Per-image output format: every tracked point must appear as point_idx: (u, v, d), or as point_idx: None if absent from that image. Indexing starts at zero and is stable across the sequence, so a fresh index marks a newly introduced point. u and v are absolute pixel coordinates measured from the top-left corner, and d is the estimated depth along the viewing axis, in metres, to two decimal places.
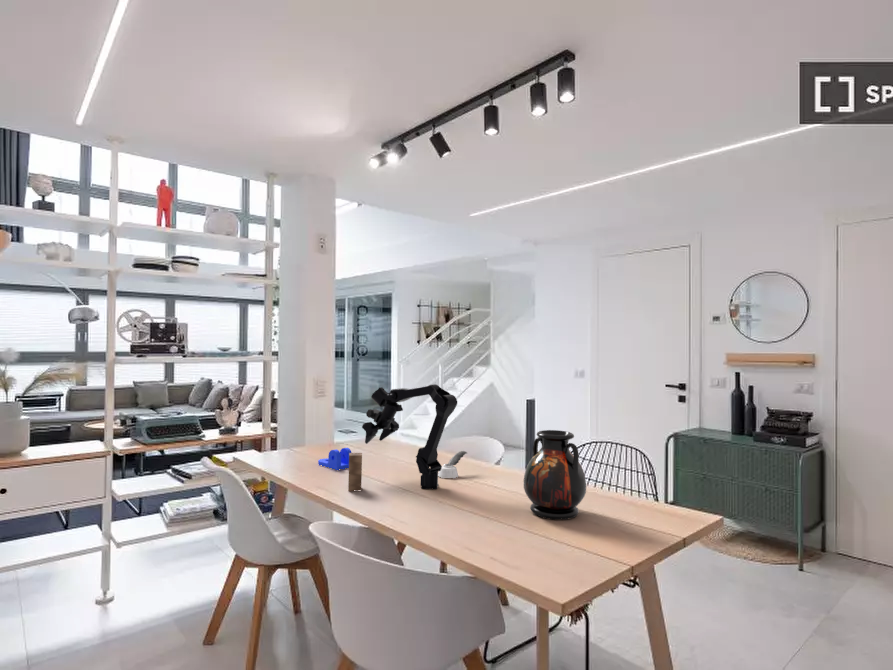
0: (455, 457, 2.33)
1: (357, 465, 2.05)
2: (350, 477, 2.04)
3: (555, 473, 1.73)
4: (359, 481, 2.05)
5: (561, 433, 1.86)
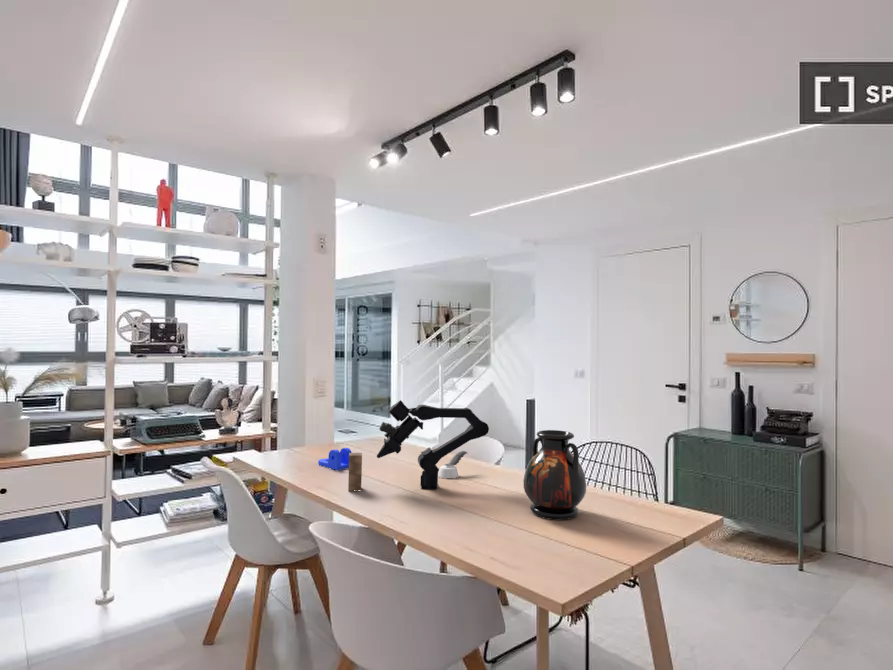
0: (455, 457, 2.33)
1: (357, 465, 2.05)
2: (350, 477, 2.04)
3: (555, 473, 1.73)
4: (359, 481, 2.05)
5: (561, 433, 1.86)
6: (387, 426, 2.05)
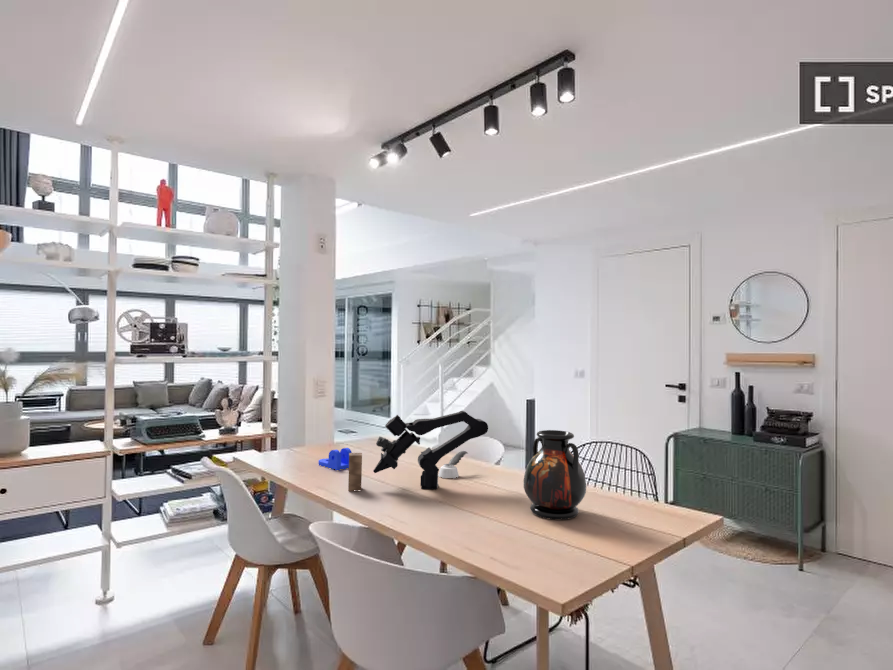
0: (456, 457, 2.33)
1: (357, 465, 2.05)
2: (350, 477, 2.04)
3: (555, 473, 1.73)
4: (359, 481, 2.05)
5: (561, 433, 1.86)
6: (384, 441, 2.05)
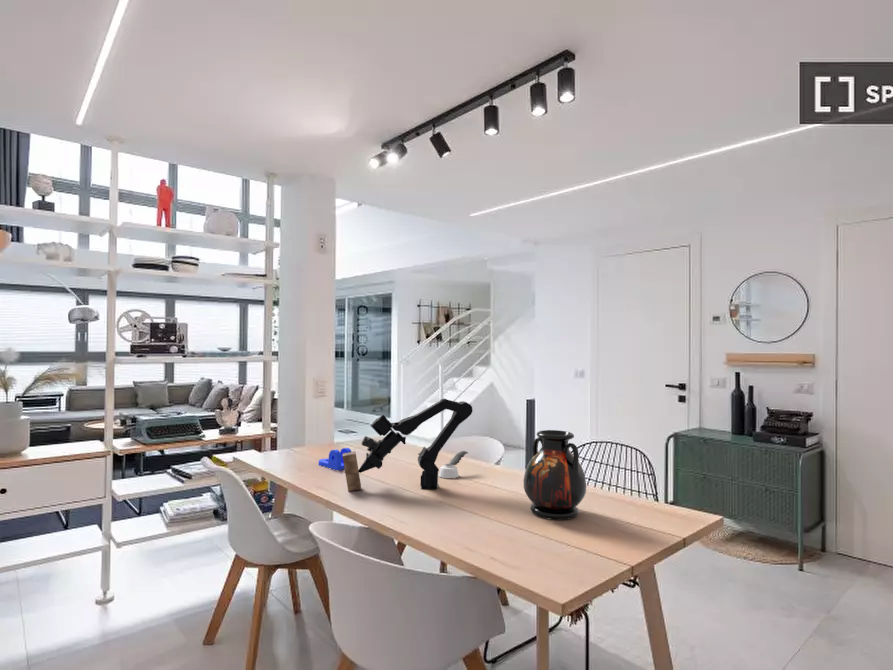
0: (456, 457, 2.33)
1: (352, 464, 2.04)
2: (347, 477, 2.04)
3: (555, 473, 1.73)
4: (357, 479, 2.05)
5: (561, 433, 1.86)
6: (369, 441, 2.04)
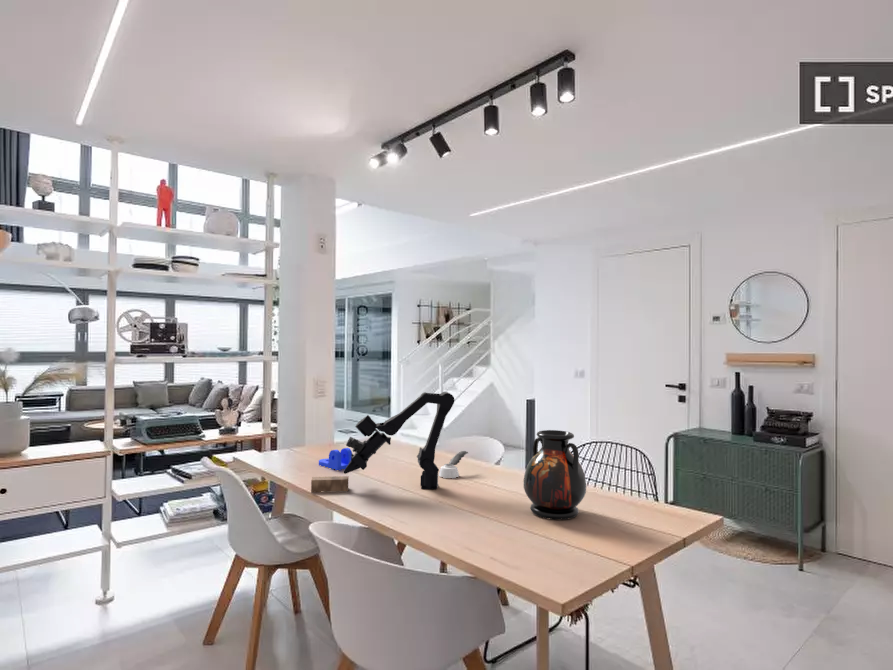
0: (456, 457, 2.33)
1: (321, 483, 2.02)
2: (333, 490, 2.03)
3: (555, 473, 1.73)
4: (338, 481, 2.03)
5: (561, 433, 1.86)
6: (353, 442, 2.03)
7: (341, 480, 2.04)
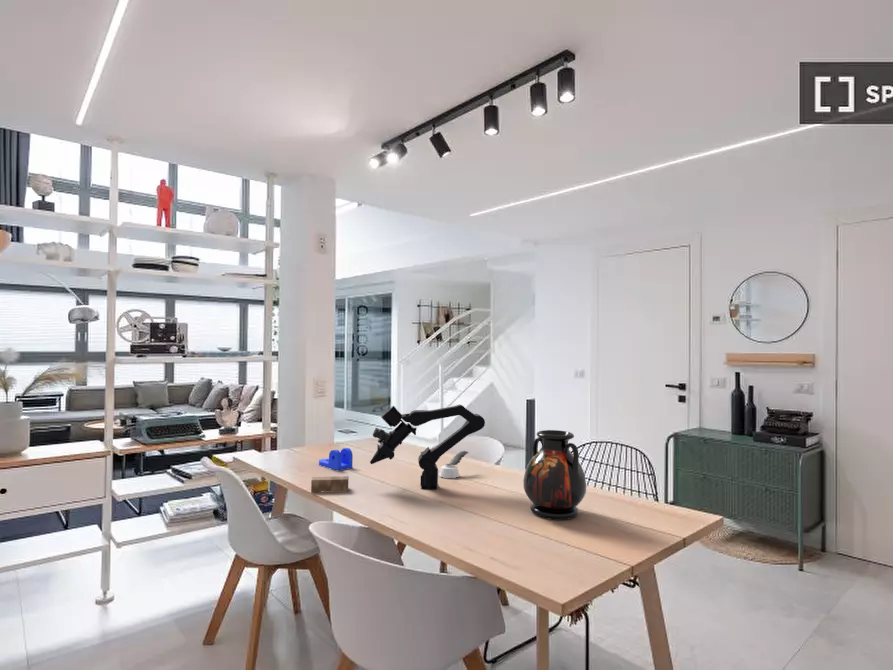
0: (456, 457, 2.33)
1: (321, 483, 2.02)
2: (333, 490, 2.03)
3: (555, 473, 1.73)
4: (338, 481, 2.03)
5: (561, 433, 1.86)
6: (380, 432, 2.06)
7: (341, 480, 2.04)
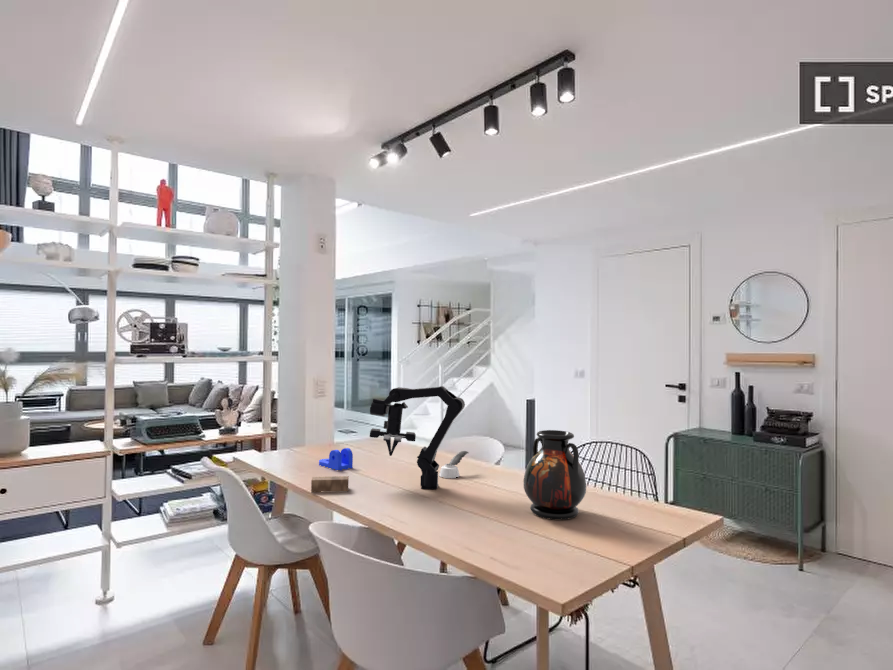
0: (456, 457, 2.33)
1: (321, 483, 2.02)
2: (333, 490, 2.03)
3: (555, 473, 1.73)
4: (338, 481, 2.03)
5: (561, 433, 1.86)
6: None
7: (341, 480, 2.04)
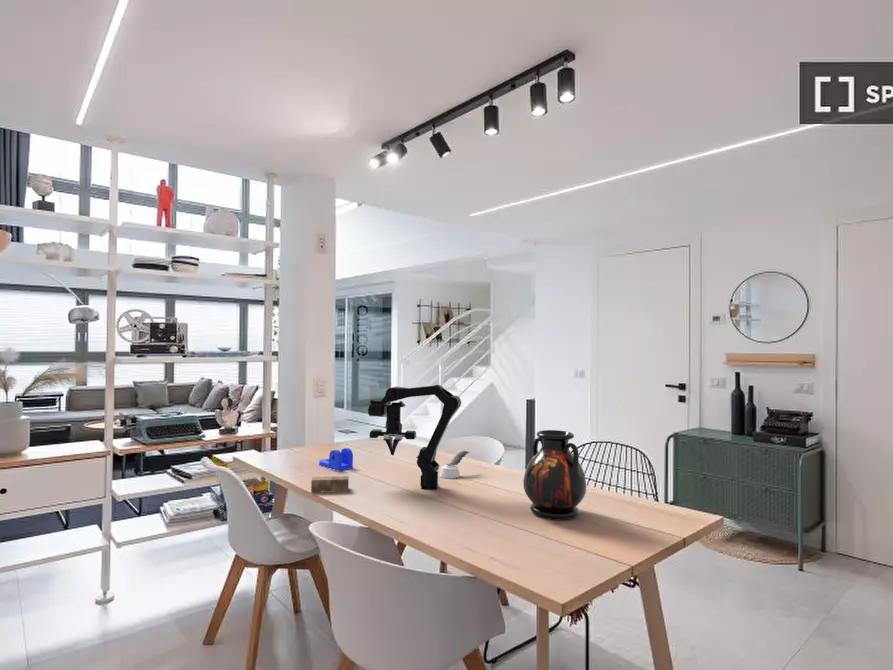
0: (457, 457, 2.33)
1: (321, 483, 2.02)
2: (333, 490, 2.03)
3: (555, 473, 1.73)
4: (338, 481, 2.03)
5: (561, 433, 1.86)
6: None
7: (341, 480, 2.04)
